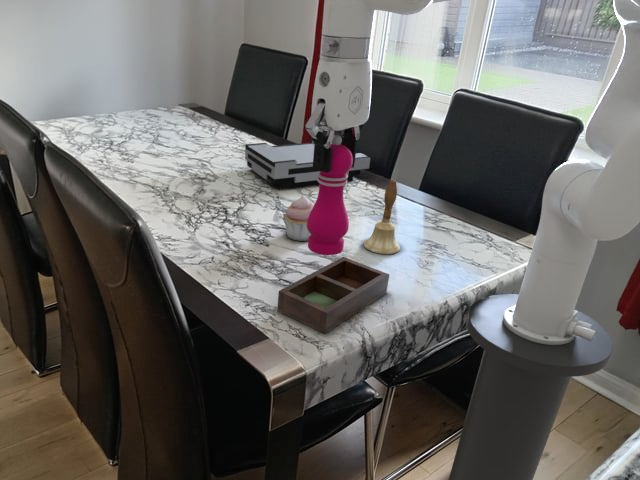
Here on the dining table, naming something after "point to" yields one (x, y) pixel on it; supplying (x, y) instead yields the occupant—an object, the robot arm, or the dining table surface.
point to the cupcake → (298, 219)
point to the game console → (291, 164)
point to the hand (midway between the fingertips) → (333, 165)
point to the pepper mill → (331, 204)
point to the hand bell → (385, 227)
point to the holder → (332, 294)
